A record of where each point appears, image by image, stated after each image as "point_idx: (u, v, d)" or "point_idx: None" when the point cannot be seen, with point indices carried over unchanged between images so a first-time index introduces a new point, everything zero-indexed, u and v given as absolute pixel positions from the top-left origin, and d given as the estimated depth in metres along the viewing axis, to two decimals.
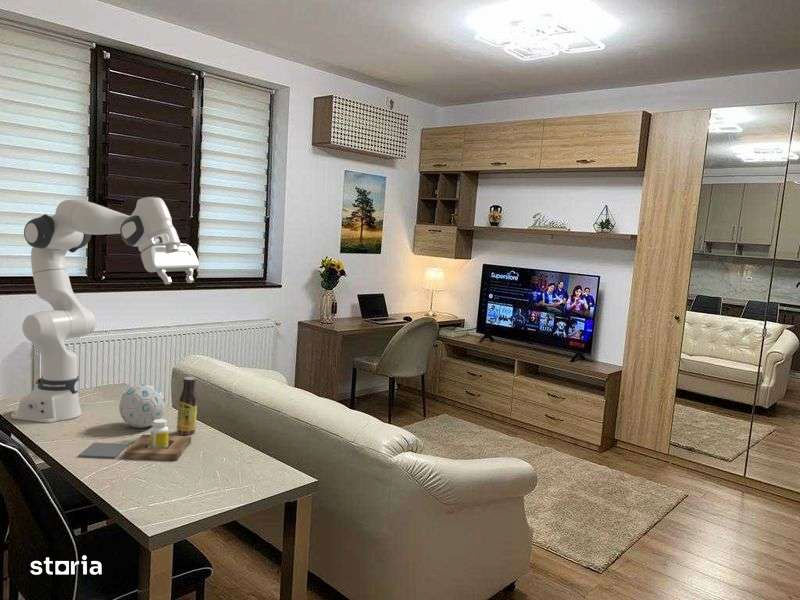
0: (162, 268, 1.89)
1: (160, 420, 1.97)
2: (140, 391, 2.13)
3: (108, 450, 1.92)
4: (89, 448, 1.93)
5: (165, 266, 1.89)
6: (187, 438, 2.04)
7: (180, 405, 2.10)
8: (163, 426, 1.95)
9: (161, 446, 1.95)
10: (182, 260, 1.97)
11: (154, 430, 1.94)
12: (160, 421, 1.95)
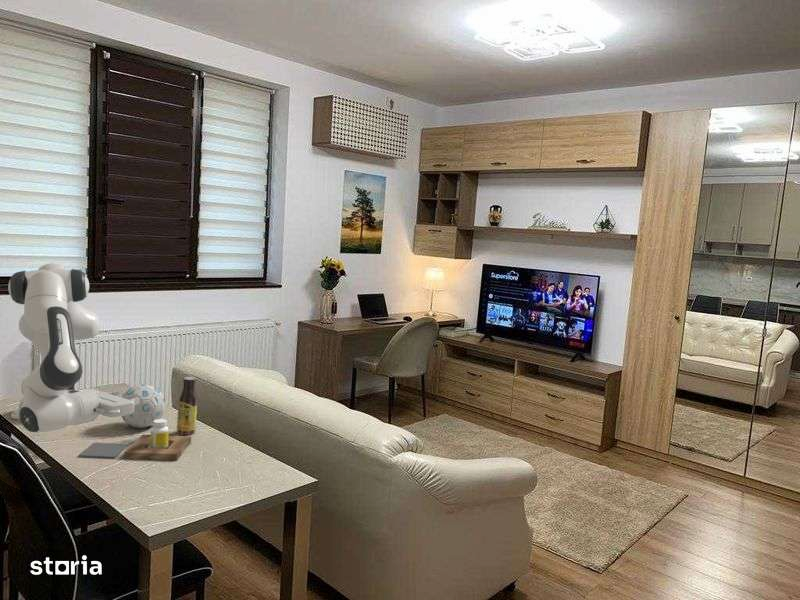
0: None
1: (160, 420, 1.97)
2: (140, 391, 2.13)
3: (108, 450, 1.92)
4: (89, 448, 1.93)
5: None
6: (187, 438, 2.04)
7: (180, 405, 2.10)
8: (163, 426, 1.95)
9: (161, 446, 1.95)
10: None
11: (154, 430, 1.94)
12: (160, 421, 1.95)
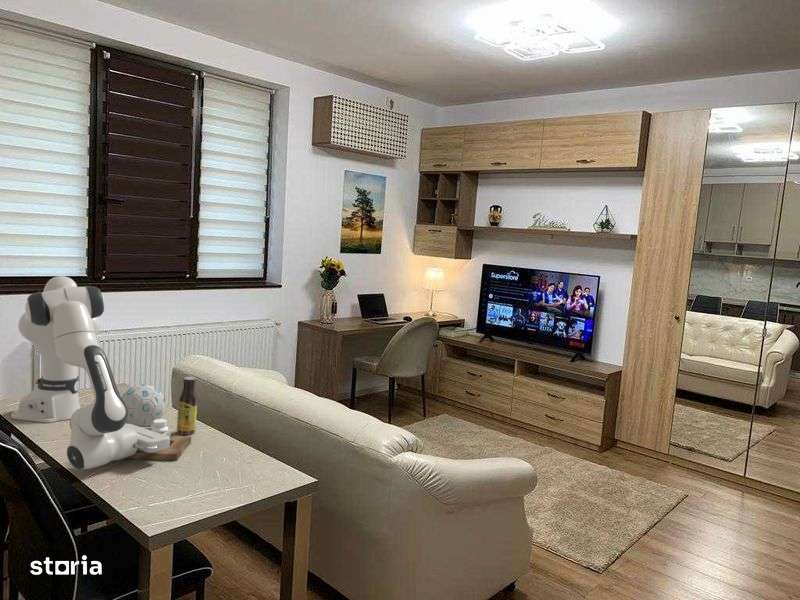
0: None
1: (160, 419, 1.97)
2: (140, 391, 2.13)
3: None
4: None
5: None
6: (187, 438, 2.04)
7: (180, 405, 2.10)
8: (163, 426, 1.95)
9: None
10: None
11: (154, 430, 1.94)
12: (160, 421, 1.95)
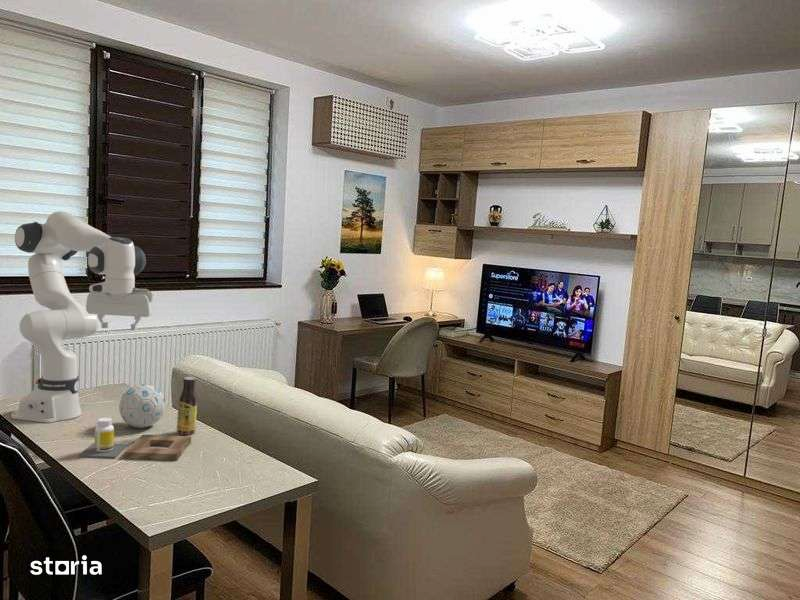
0: None
1: (105, 418, 1.93)
2: (140, 391, 2.13)
3: None
4: (89, 448, 1.93)
5: (100, 313, 1.99)
6: (187, 438, 2.04)
7: (180, 405, 2.10)
8: (107, 425, 1.91)
9: (105, 445, 1.90)
10: (125, 309, 1.99)
11: (98, 429, 1.90)
12: (104, 420, 1.91)
